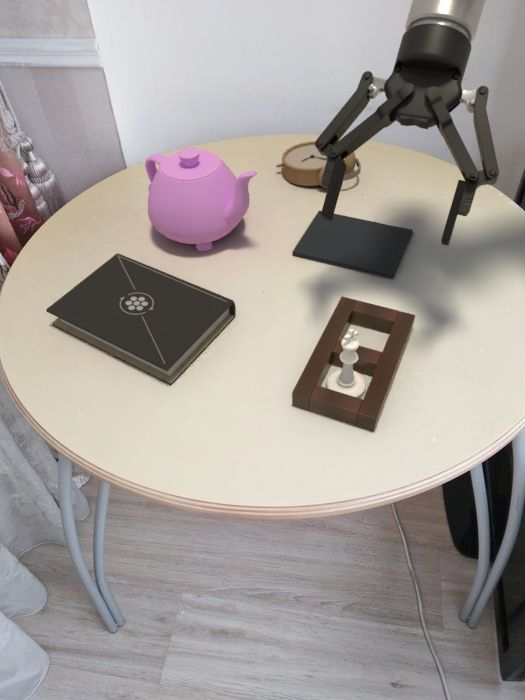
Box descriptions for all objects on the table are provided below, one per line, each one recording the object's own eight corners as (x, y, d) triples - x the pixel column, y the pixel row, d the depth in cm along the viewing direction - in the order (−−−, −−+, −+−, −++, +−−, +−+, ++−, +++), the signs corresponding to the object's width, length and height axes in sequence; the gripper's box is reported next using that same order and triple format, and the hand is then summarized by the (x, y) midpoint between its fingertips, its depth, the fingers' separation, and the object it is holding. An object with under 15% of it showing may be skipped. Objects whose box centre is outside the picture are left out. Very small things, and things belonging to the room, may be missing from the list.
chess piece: (374, 392, 69) (383, 335, 61) (340, 409, 67) (346, 352, 60) (350, 366, 72) (356, 309, 64) (318, 382, 70) (320, 325, 63)
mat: (412, 234, 90) (413, 229, 90) (393, 279, 83) (393, 275, 82) (318, 214, 95) (319, 210, 94) (292, 255, 88) (292, 251, 87)
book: (237, 315, 79) (235, 299, 77) (171, 385, 71) (167, 370, 69) (123, 267, 88) (118, 251, 86) (52, 325, 80) (45, 309, 77)
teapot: (286, 225, 93) (284, 147, 83) (232, 278, 85) (223, 198, 75) (182, 191, 102) (169, 116, 92) (124, 235, 93) (103, 159, 83)
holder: (412, 328, 76) (415, 314, 74) (374, 432, 65) (376, 419, 63) (340, 309, 79) (341, 296, 77) (292, 405, 68) (291, 392, 66)
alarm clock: (301, 137, 108) (372, 142, 100) (304, 161, 111) (373, 168, 103) (268, 162, 102) (341, 170, 94) (273, 188, 105) (344, 197, 97)
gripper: (554, 68, 61) (496, 259, 63) (335, 44, 69) (289, 215, 71) (567, 31, 54) (502, 248, 56) (322, 9, 61) (271, 200, 63)
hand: (383, 230), depth 63 cm, fingers open, 13 cm apart
